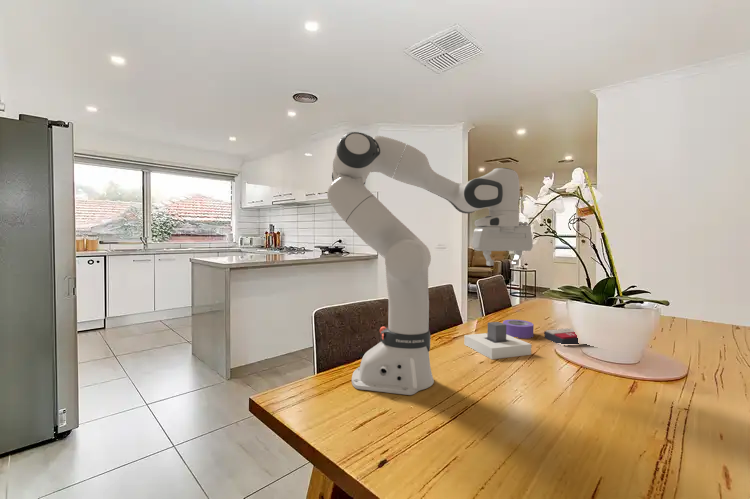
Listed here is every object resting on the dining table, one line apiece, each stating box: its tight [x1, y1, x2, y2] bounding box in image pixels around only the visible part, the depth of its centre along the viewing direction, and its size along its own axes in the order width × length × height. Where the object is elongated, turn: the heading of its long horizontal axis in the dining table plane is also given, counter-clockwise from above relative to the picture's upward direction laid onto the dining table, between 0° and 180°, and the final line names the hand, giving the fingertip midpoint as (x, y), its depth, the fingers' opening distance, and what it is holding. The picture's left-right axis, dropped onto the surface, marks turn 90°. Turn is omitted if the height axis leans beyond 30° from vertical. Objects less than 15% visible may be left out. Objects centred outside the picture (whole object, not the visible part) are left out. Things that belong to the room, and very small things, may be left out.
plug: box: [487, 321, 507, 343], centre depth 123 cm, size 4×4×8 cm
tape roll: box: [502, 319, 534, 339], centre depth 143 cm, size 12×12×5 cm
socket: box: [463, 332, 532, 360], centre depth 123 cm, size 16×16×4 cm
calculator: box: [543, 328, 579, 344], centre depth 134 cm, size 11×4×15 cm
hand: (502, 265), depth 108 cm, fingers open, 8 cm apart
